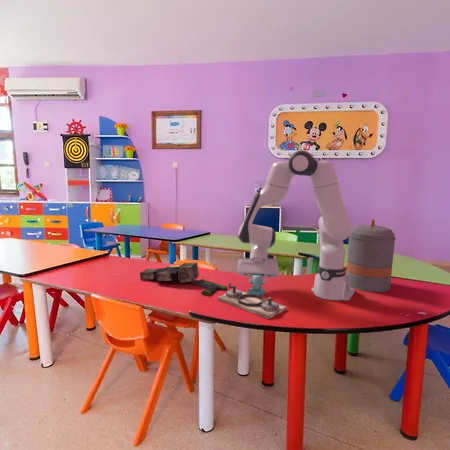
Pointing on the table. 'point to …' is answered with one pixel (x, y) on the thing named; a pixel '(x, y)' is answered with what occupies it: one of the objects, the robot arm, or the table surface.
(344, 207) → the robot arm
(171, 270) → the toy
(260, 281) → the teal gear
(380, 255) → the storage container
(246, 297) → the board
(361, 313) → the table surface
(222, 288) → the gun
